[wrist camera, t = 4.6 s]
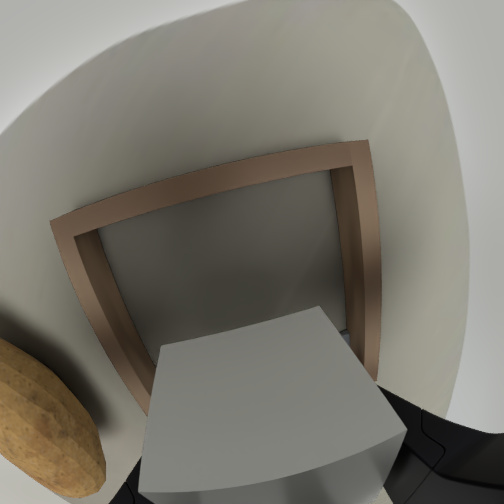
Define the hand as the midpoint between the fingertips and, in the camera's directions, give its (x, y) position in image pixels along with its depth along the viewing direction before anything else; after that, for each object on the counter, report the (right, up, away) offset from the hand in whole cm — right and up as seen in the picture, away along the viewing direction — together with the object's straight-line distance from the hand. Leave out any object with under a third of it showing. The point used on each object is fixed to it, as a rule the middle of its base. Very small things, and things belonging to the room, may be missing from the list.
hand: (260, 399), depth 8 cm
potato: (-16, -4, +7) cm, 18 cm away
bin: (-1, +2, +6) cm, 7 cm away
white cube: (0, 0, +1) cm, 1 cm away
